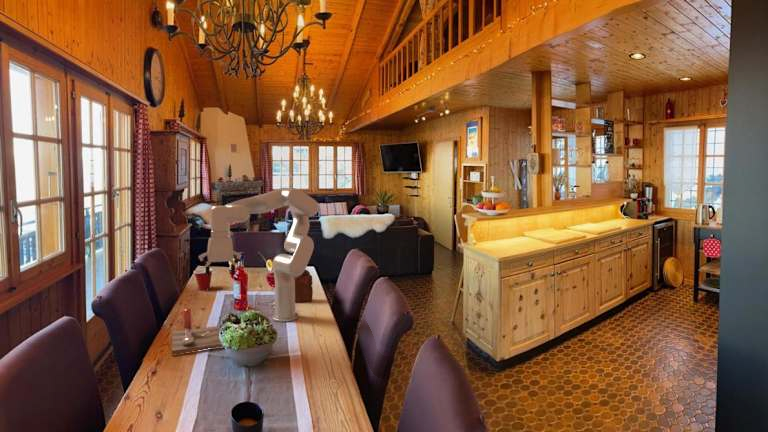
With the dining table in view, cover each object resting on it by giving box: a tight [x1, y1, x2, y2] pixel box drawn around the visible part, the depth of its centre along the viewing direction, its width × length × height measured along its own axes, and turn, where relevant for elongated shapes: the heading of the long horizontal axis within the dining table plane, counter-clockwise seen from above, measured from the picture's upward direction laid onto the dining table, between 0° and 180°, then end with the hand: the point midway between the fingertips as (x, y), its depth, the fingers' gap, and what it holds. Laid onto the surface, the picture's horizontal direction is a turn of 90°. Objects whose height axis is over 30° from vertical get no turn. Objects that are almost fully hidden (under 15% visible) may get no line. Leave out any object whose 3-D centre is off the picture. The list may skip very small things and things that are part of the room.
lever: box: [182, 307, 194, 346], centre depth 187 cm, size 18×4×10 cm, turn 24°
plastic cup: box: [193, 267, 214, 291], centre depth 270 cm, size 11×11×12 cm
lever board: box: [171, 325, 222, 356], centre depth 190 cm, size 22×19×2 cm
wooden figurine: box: [294, 269, 314, 303], centre depth 247 cm, size 12×6×18 cm, turn 105°
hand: (220, 274), depth 192 cm, fingers open, 9 cm apart
